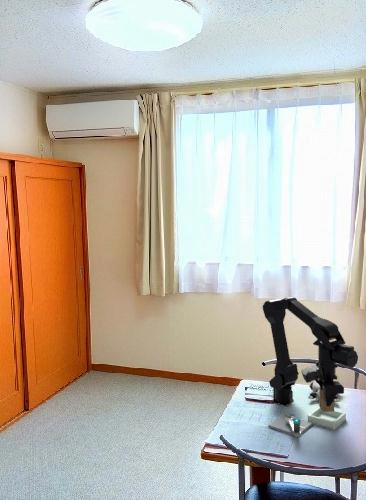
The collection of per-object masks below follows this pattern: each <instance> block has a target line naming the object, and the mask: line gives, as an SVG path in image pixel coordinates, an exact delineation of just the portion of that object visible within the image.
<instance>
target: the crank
mask: <svg viewBox="0 0 366 500" xmlns="http://www.w3.org/2000/svg"><path fill="white" fill-rule="evenodd" d="M295 417H296V416H292V415H290V416H287V417H285V423H286V424H287V425H289V426H290V428H291V430H292V432H293V434H294V436H293V437H294V438H301V437H302V434H301V432H300V423H301V420H300V419H301V418H300V419H296V418H295Z"/></svg>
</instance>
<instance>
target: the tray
mask: <svg viewBox="0 0 366 500" xmlns="http://www.w3.org/2000/svg"><path fill="white" fill-rule="evenodd" d="M346 418H347V413H346V412H344V411H341V410H340V411H339V410H336V409H334V412H322V410H321V408H320V407H319V406H317V407H316V408H315V409H314V410H313V411H311V412H310V413H309V414H307V421H310V422H313V425H317V426H319V427H322V428H326V429H329V430H332V431H335V430H337V429H338V428H339V427H340V426H341V425H342V424H344V422H345V421H346V420H347V419H346Z"/></svg>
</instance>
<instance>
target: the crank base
mask: <svg viewBox="0 0 366 500" xmlns="http://www.w3.org/2000/svg"><path fill="white" fill-rule="evenodd" d="M287 416H291V415H290V414H287V413H283V414H282V415H281V416H279V417H278V418H276V419H275V420H273V421H272V422H270V423H269V424H268V425H267V428H270V429H272V430H276V431H278V432H281V433H285V434H288V435H290V436H293V437H294V434H293V432H292V430H291V428H290V426H289V425H287V424H286V423H285V417H287ZM294 417H295V418H296V419H300V420H301V423H300V432H301V435H302V434H304V433H305V432H306V431H307V430H308V429H310V428H311V427H312V426H314V424H313V422H310V421H308V420H307V419H306V420H305V419H302V418H299V417H296V416H294Z"/></svg>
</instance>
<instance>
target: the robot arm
mask: <svg viewBox="0 0 366 500" xmlns="http://www.w3.org/2000/svg"><path fill="white" fill-rule="evenodd" d="M286 310H288V311H289V312H290V313H291V314H293V315H294V316H295V317H296V318H298V319H299V320H300V321H301V322H302V323H304V324H305V325H307V326H308V328H309V329H310V331H311V333H312V335H313V336H314V337H315V338H316V340H315V341H314V342H313V343H312V344H313V345H314V346H317V347H318V349H317V355H318V358H317V360H316V361H315V364H314V365H312V366H311V365H310V366H309V367H308V366H307V367H306V368H303V369H301V370H300V373H301V375H302V378H303V380H304V381H305V382H306V383H307V384H308V383H309V384H310V382H311V383H312V382H314V381H316V382H317V383H318V384H319V386H320V388H321V389H322V391H323V392H325V398H326V404H327V406H331V404H332V402H333V400H334V398H335V397H336V396H337V395H341V394H342V395H343V394H344V393H345V387H344V386H343V384H342V385H341V383H342V382H339V381H338V376H337V374H336V368H338V365H341V366H343V367H347V368H350V369H353V368H355V367H356V365H357V363H358V360H359V355H358V353H357V351H356V350H355V347H354V346H352V345H346V341H345V339H344V337H343V335H342V334H341V332H340V330H339V326H338V325H337V324H336V323H334V322H333V321H331V320H328V319H326V318H322V317H320V316H318V315H317V314H315V313H314V312H313V311H312V310H311V309H309V308H308V307H307V306H305V305H304V304H303V303H301V302H300V301H299V300H298V299H297V297H294V296H288V297H284V298H283V299H281V298H276V299H270V300H266V301H265V302H263V304H262V311H263V314H264V318H265V320H266V321H268V323H269V324H270V328H271V334H272V340H273V347H274V351H275V352H274V353H275V358H276V363H275V367H274V369H273V370H274V376H273V377H272V378H271V379H270V380H269V381H268V382H269V386H270V388H272V389H273V390H272V393H273V394H272V395H273V397H272V399H271V401H270V402H271V403H273V404H277V405H281V406H284V407H287V406H288V405H290V404H291V403H293V402H294V401H295V400H294V398H293V397H294V392H293V390H292V388H293V386H296V385H295V384H296V382H297V381H298V379H299V374H300V373H299V370H298V365H297V363H294V362H293V360H291V358H290V352H289V346H288V341H287V337H286V336H287V335H286V330H285V323H284V321H285V317H286V315H287V312H286Z"/></svg>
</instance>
